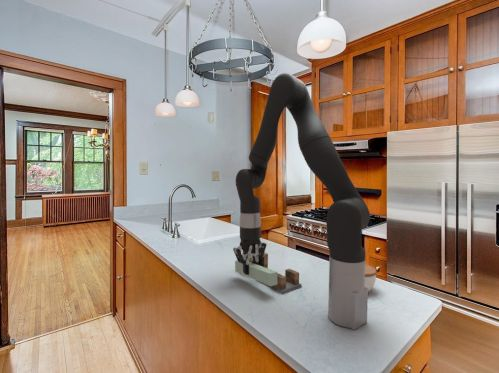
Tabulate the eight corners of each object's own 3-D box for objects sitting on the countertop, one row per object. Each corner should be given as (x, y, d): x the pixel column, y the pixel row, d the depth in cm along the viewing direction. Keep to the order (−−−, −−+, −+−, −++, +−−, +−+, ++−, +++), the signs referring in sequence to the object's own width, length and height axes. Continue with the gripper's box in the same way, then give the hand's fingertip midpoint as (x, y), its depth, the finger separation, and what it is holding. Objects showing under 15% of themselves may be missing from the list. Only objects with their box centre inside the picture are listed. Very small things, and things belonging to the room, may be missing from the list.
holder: (301, 287, 93) (302, 266, 93) (283, 294, 88) (283, 272, 87) (259, 267, 112) (259, 250, 112) (241, 272, 107) (241, 254, 107)
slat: (277, 284, 86) (277, 271, 86) (270, 286, 84) (270, 273, 84) (241, 269, 102) (241, 259, 102) (235, 271, 100) (235, 260, 100)
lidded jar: (351, 280, 99) (352, 256, 99) (381, 290, 91) (382, 264, 90) (336, 288, 92) (336, 262, 92) (366, 300, 84) (367, 271, 83)
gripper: (240, 229, 87) (240, 281, 87) (272, 224, 95) (272, 271, 96) (227, 226, 93) (228, 274, 93) (258, 221, 101) (259, 266, 102)
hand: (250, 272), depth 95 cm, fingers closed on slat, 3 cm apart
